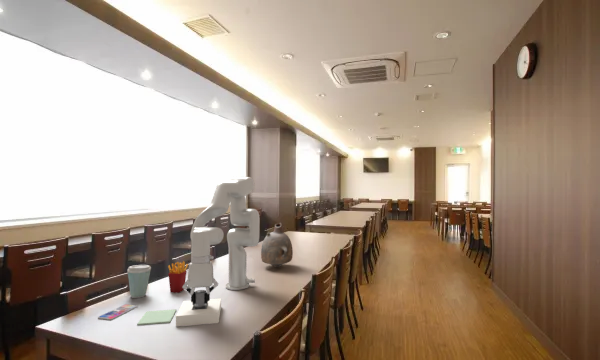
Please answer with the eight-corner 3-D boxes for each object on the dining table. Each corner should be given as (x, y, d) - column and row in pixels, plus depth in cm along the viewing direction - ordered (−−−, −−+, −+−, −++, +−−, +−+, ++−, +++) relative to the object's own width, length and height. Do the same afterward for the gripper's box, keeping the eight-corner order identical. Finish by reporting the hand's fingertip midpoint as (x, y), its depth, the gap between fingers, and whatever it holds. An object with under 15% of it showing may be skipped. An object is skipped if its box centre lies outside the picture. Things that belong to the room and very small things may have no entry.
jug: (252, 268, 202) (253, 223, 203) (273, 261, 220) (273, 220, 221) (281, 273, 188) (281, 225, 189) (300, 266, 206) (300, 222, 207)
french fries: (179, 293, 152) (179, 264, 153) (164, 292, 154) (165, 263, 155) (189, 288, 161) (189, 260, 162) (175, 287, 163) (175, 259, 163)
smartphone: (138, 305, 136) (111, 319, 121) (138, 307, 136) (111, 321, 121) (125, 303, 138) (96, 317, 123) (125, 305, 138) (96, 319, 123)
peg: (206, 313, 128) (206, 289, 129) (205, 317, 124) (205, 293, 124) (195, 313, 127) (195, 290, 128) (193, 318, 123) (193, 293, 123)
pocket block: (221, 307, 135) (221, 298, 135) (218, 322, 119) (218, 312, 119) (183, 310, 132) (183, 300, 132) (175, 326, 116) (175, 316, 116)
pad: (176, 310, 131) (176, 309, 131) (169, 322, 119) (169, 321, 119) (146, 312, 129) (146, 311, 129) (137, 325, 117) (137, 323, 117)
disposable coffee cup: (134, 292, 155) (135, 262, 155) (155, 292, 155) (155, 263, 155) (121, 299, 144) (122, 268, 145) (143, 299, 144) (144, 268, 144)
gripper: (222, 256, 132) (221, 298, 131) (181, 258, 128) (180, 301, 128) (220, 260, 124) (220, 305, 124) (177, 262, 121) (177, 308, 120)
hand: (200, 302), depth 126 cm, fingers closed on peg, 4 cm apart
